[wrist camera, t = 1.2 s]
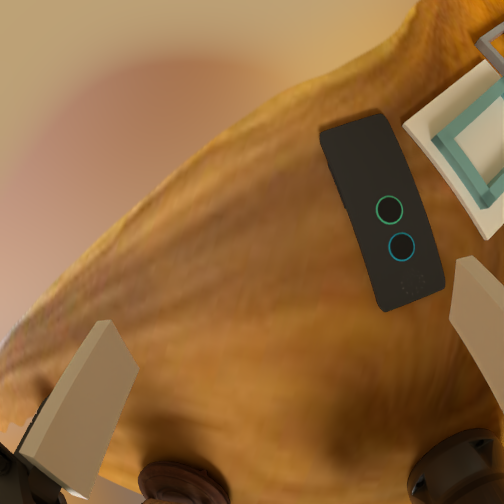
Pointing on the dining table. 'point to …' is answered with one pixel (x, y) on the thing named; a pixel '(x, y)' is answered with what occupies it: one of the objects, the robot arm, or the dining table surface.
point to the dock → (468, 143)
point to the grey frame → (488, 50)
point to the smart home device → (384, 211)
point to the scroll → (179, 485)
